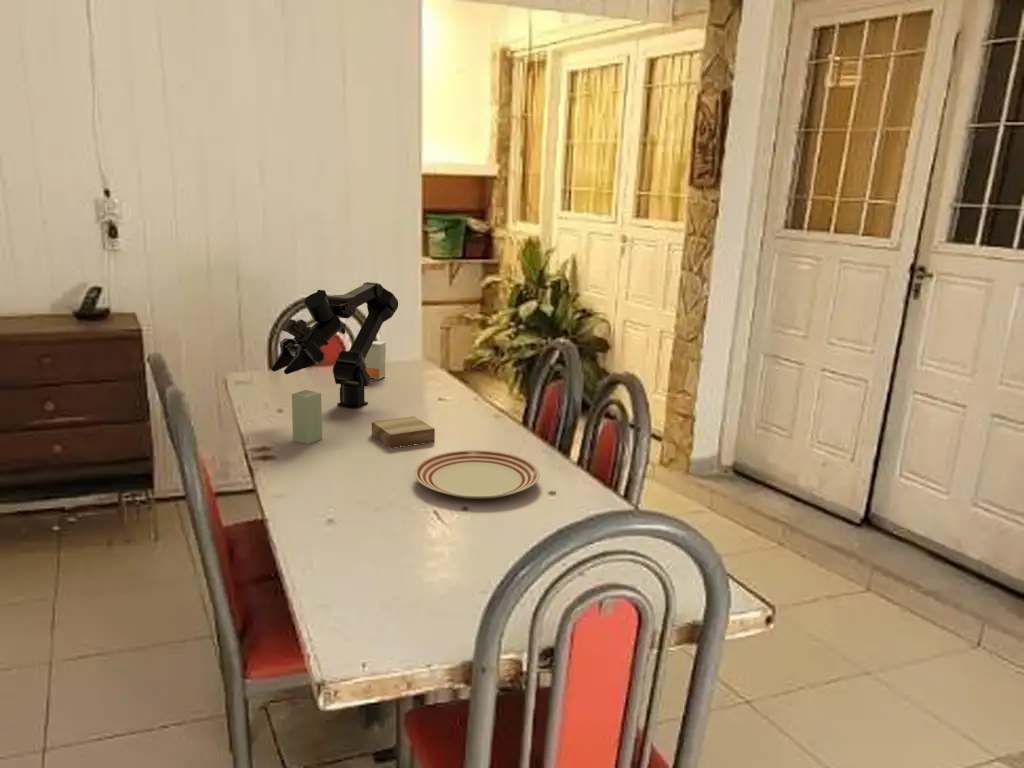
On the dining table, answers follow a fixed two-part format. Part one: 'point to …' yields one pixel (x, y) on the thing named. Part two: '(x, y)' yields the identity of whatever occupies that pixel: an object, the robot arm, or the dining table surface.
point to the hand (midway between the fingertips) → (278, 371)
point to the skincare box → (376, 360)
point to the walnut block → (403, 431)
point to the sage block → (307, 416)
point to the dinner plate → (477, 474)
